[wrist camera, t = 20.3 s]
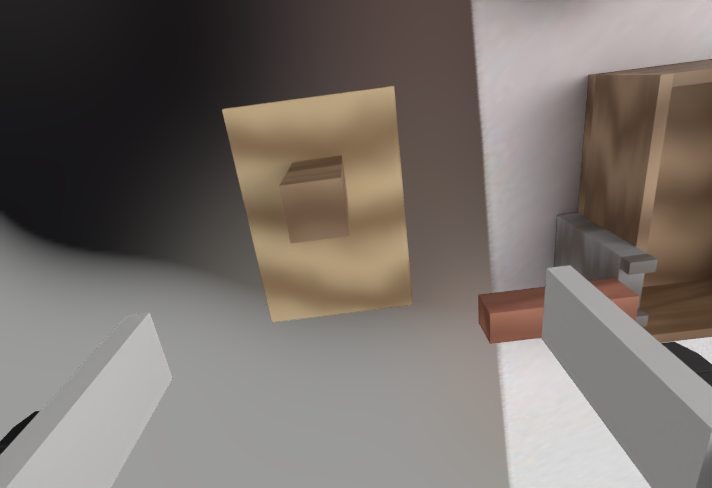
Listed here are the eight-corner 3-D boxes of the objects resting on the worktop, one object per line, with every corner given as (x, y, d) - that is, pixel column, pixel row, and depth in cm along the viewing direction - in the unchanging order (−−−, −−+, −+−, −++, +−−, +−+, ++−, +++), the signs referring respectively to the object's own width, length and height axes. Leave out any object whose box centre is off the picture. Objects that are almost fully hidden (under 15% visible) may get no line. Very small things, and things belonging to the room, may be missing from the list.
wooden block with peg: (225, 108, 33) (185, 119, 25) (392, 85, 33) (409, 89, 25) (273, 315, 41) (255, 379, 32) (410, 298, 40) (429, 358, 32)
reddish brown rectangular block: (478, 294, 29) (490, 313, 27) (615, 278, 29) (639, 295, 27) (478, 322, 30) (490, 343, 28) (612, 307, 30) (634, 326, 27)
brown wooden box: (566, 78, 33) (656, 79, 23) (769, 51, 33) (943, 42, 23) (551, 299, 40) (615, 368, 31) (716, 279, 40) (832, 342, 31)
